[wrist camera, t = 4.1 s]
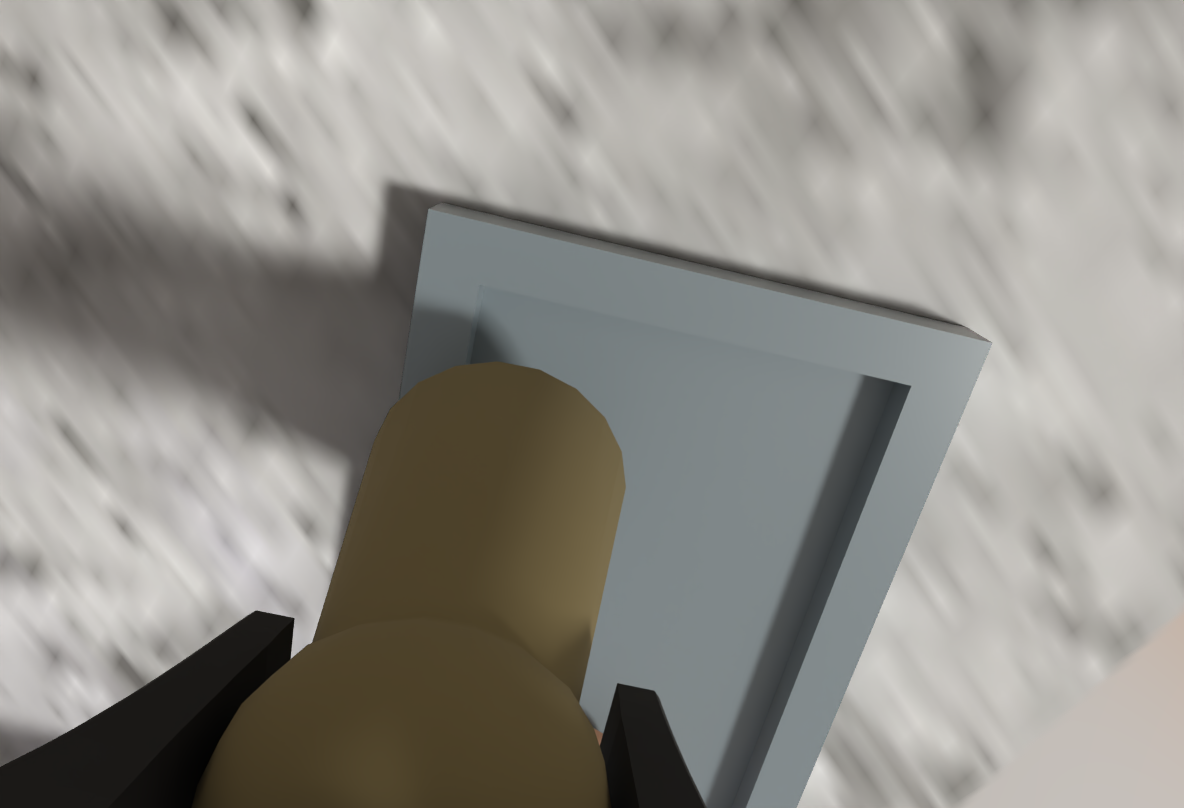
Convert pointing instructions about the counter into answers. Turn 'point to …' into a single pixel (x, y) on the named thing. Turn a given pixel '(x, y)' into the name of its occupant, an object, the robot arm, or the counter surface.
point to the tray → (717, 470)
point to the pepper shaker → (449, 615)
